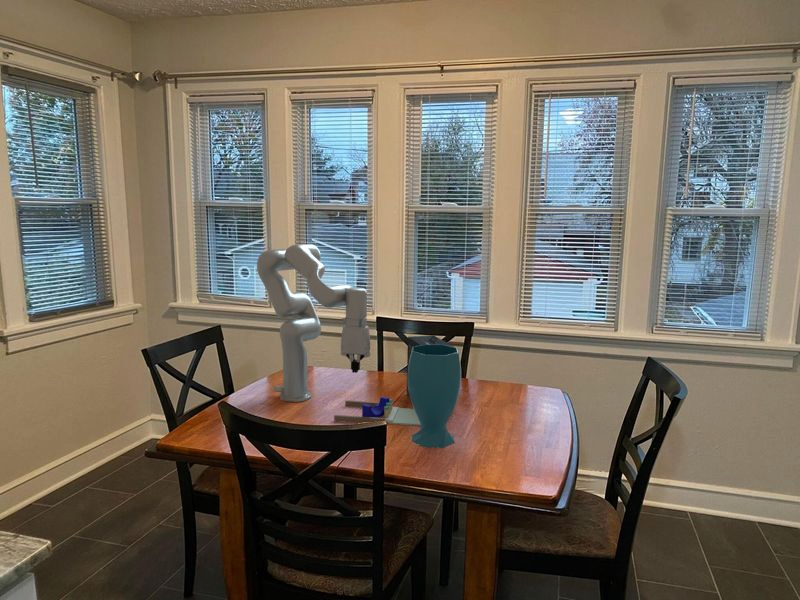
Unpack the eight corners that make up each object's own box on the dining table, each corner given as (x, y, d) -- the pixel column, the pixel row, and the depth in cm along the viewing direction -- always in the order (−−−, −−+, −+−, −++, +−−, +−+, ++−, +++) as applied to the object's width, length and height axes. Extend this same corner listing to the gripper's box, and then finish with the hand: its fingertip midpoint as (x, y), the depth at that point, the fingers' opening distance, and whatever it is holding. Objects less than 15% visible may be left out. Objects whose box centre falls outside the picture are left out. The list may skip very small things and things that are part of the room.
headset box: (455, 408, 210) (457, 342, 206) (425, 411, 206) (427, 344, 202) (432, 390, 231) (433, 330, 227) (405, 393, 227) (406, 331, 223)
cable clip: (379, 410, 207) (379, 395, 206) (388, 413, 204) (389, 397, 203) (358, 420, 197) (358, 404, 196) (368, 423, 195) (368, 406, 194)
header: (334, 421, 195) (334, 408, 195) (346, 405, 212) (346, 393, 211) (426, 427, 191) (426, 414, 190) (430, 410, 207) (431, 398, 206)
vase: (407, 428, 190) (408, 343, 185) (457, 429, 189) (460, 344, 185) (406, 449, 173) (407, 355, 168) (461, 450, 172) (464, 356, 168)
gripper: (333, 323, 195) (332, 373, 198) (374, 325, 193) (373, 376, 196) (338, 319, 203) (338, 367, 205) (378, 321, 200) (377, 370, 203)
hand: (355, 371), depth 201 cm, fingers closed
